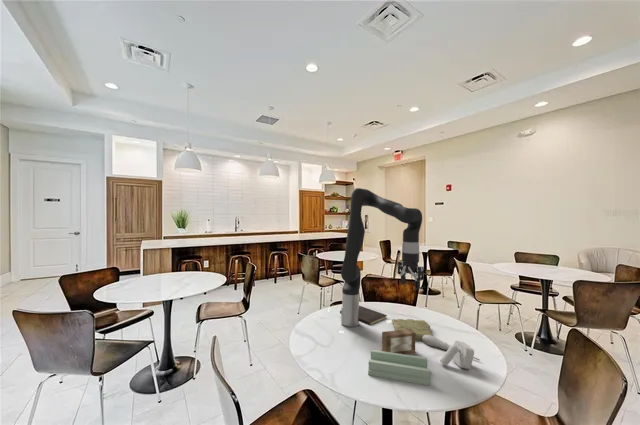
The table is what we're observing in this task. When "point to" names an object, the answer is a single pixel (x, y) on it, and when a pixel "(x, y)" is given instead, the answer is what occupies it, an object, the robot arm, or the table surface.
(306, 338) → the table surface
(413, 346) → the wooden picture frame
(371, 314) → the hardcover book
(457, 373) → the table surface
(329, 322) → the table surface
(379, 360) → the pale green channel holder
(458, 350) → the wall hook
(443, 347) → the screwdriver
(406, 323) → the decorative tile
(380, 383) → the table surface
